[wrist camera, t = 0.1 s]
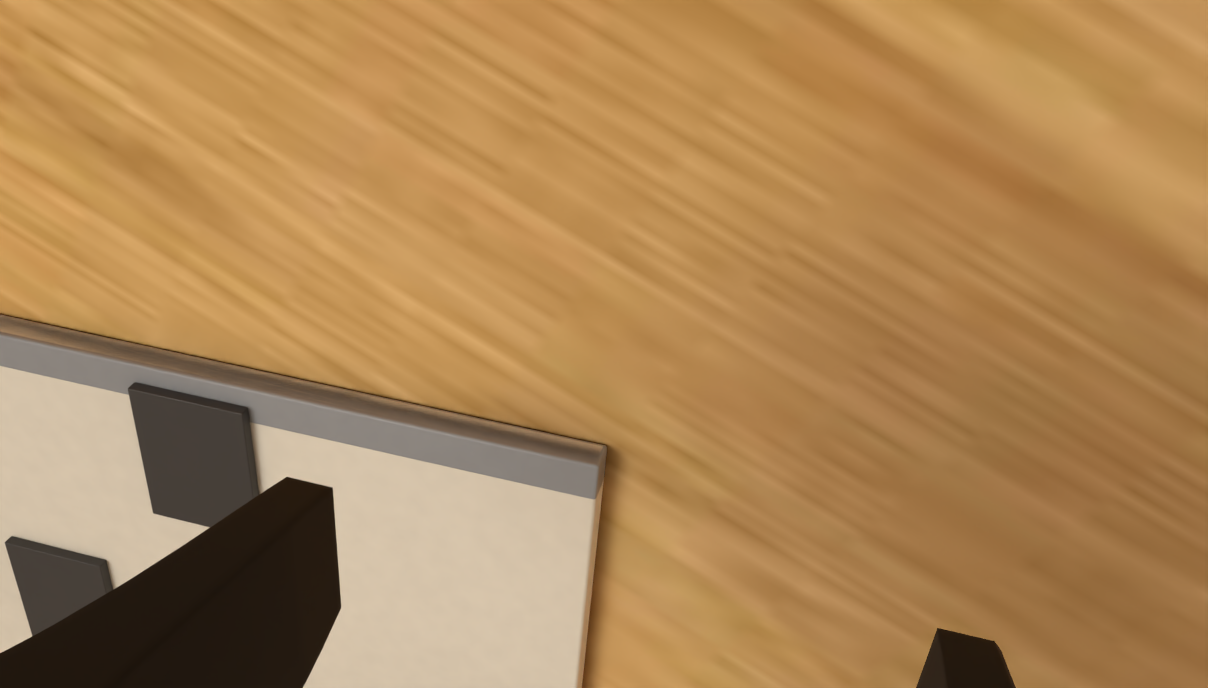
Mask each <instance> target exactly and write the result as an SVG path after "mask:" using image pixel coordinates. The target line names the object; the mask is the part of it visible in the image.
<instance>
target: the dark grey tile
mask: <svg viewBox="0 0 1208 688" xmlns="http://www.w3.org/2000/svg"><path fill="white" fill-rule="evenodd" d="M128 393H129V398H130V403H131V408H132V413H133V418H134V423H135V428H136V433H137V437H138V442H139V447H140V452H141V457H142V462H143V467H144V472H145V477H146V482H147V487H148V491H149V496H150V501H151V506H152V511H153V513H154V514H157V515H161V516H165V517H169V518H173V519H177V520H181V521H186V522H190V523H194V524H198V525H202V526H206V527H211V526H213V525H214V524H216V523H217V522H219V521H220V520H222V519H223V518H225V517H226V516H228V515H229V514H231V513H232V512H234V511H235V510H237V509H238V508H240V507H241V506H243V505H244V504H246V503H247V502H249V501H250V500H252V499H253V498H255V497H256V496H258V495H259V488H258V481H257V473H256V465H255V457H254V450H253V442H252V434H251V427H250V419H249V411H248V408H247V407H244V406H239V405H235V404H230V403H226V402H221V401H217V400H212V399H208V398H204V397H199V396H195V395H190V394H186V393H181V392H177V391H172V390H168V389H163V388H159V387H154V386H150V385H145V384H141V383H136V382H134V383H133V384H132V385H131V386H130V387H129V388H128Z"/></svg>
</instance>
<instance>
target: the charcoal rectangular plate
mask: <svg viewBox="0 0 1208 688" xmlns="http://www.w3.org/2000/svg"><path fill="white" fill-rule="evenodd" d="M5 546H6V549H7V552H8V556H9V559H10V563H11V566H12V569H13V573H14V576H15V579H16V583H17V586H18V589H19V593H20V596H21V599H22V603H23V606H24V610H25V613H26V616H27V620H28V623H29V626H30V630H31V633H32V636H34V635H36V634H38V633H39V632H41V631H43V630H45V629H47V628H49V627H50V626H52V625H54V624H56V623H57V622H59V621H61V620H62V619H64V618H66V617H68V616H69V615H71V614H73V613H74V612H76V611H78V610H79V609H81V608H83V607H85V606H86V605H88V604H90V603H91V602H93V601H95V600H96V599H98V598H100V597H101V596H103V595H105V594H107V593H108V592H110V591H112V590H113V587H112V582H111V578H110V574H109V569H108V565H107V561H106V560H105V559H101V558H97V557H93V556H89V555H85V554H81V553H77V552H73V551H69V550H65V549H61V548H57V547H53V546H49V545H46V544H42V543H38V542H34V541H30V540H26V539H22V538H18V537H14V536H11V537H10V538H9V539H8V540H7V541H5Z"/></svg>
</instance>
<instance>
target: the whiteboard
mask: <svg viewBox="0 0 1208 688" xmlns="http://www.w3.org/2000/svg"><path fill="white" fill-rule="evenodd" d="M134 382H136V383H141V384H145V385H150V386H154V387H159V388H163V389H168V390H172V391H177V392H181V393H186V394H190V395H195V396H199V397H204V398H208V399H212V400H217V401H221V402H226V403H230V404H235V405H239V406H244V407H247V408H248V411H249V419H250V427H251V434H252V442H253V450H254V457H255V465H256V473H257V481H258V488H259V494H261V493H262V492H264V491H265V490H267V489H268V488H270V487H272V486H273V485H275V484H276V483H278V482H279V481H281V480H282V479H284V478H286V477H290V478H294V479H299V480H303V481H307V482H312V483H316V484H320V485H325V486H329V487H333V498H334V512H335V526H336V540H337V554H338V568H339V581H340V595H341V610H340V612H339V614H338V616H337V618H336V620H335V623H334V625H333V627H332V629H331V631H330V634H329V636H328V638H327V640H326V642H325V644H324V647H323V649H322V651H321V653H320V655H319V657H318V659H317V661H316V663H315V665H314V667H313V669H312V671H311V673H310V675H309V677H308V679H307V681H306V683H305V685H304V686H303V688H582V682H583V672H584V663H585V653H586V644H587V634H588V625H589V615H590V606H591V596H592V587H593V577H594V568H595V558H596V549H597V539H598V530H599V520H600V511H601V501H602V492H603V482H604V475H605V465H606V456H607V446H605V445H601V444H596V443H592V442H587V441H582V440H578V439H573V438H568V437H564V436H559V435H555V434H550V433H545V432H541V431H536V430H532V429H527V428H522V427H518V426H513V425H508V424H504V423H499V422H495V421H490V420H485V419H481V418H476V417H472V416H467V415H462V414H458V413H453V412H448V411H444V410H439V409H435V408H430V407H425V406H421V405H416V404H411V403H407V402H402V401H398V400H393V399H388V398H384V397H379V396H375V395H370V394H365V393H361V392H356V391H351V390H347V389H342V388H338V387H333V386H328V385H324V384H319V383H315V382H310V381H305V380H301V379H296V378H291V377H287V376H282V375H278V374H273V373H268V372H264V371H259V370H255V369H250V368H245V367H241V366H236V365H231V364H227V363H222V362H218V361H213V360H208V359H204V358H199V357H194V356H190V355H185V354H181V353H176V352H171V351H167V350H162V349H158V348H153V347H148V346H144V345H139V344H134V343H130V342H125V341H121V340H116V339H111V338H107V337H102V336H98V335H93V334H88V333H84V332H79V331H74V330H70V329H65V328H61V327H56V326H51V325H47V324H42V323H38V322H33V321H28V320H24V319H19V318H14V317H10V316H5V315H1V314H0V653H1V652H3V651H5V650H7V649H9V648H11V647H13V646H15V645H17V644H19V643H21V642H23V641H24V640H26V639H28V638H30V637H32V633H31V630H30V626H29V623H28V620H27V616H26V613H25V610H24V606H23V603H22V599H21V596H20V593H19V589H18V586H17V583H16V579H15V576H14V573H13V569H12V566H11V563H10V559H9V556H8V552H7V549H6V546H5V541H7V540H8V539H9V538H10V537H11V536H14V537H18V538H22V539H26V540H30V541H34V542H38V543H42V544H46V545H49V546H53V547H57V548H61V549H65V550H69V551H73V552H77V553H81V554H85V555H89V556H93V557H97V558H101V559H105V560H106V561H107V565H108V569H109V574H110V578H111V582H112V587H113V589H115V588H117V587H118V586H120V585H122V584H123V583H125V582H127V581H128V580H130V579H131V578H133V577H135V576H136V575H138V574H139V573H141V572H142V571H144V570H145V569H147V568H149V567H150V566H152V565H153V564H155V563H156V562H158V561H159V560H161V559H163V558H164V557H166V556H167V555H169V554H170V553H172V552H173V551H175V550H177V549H178V548H180V547H181V546H183V545H184V544H186V543H187V542H189V541H190V540H192V539H193V538H195V537H196V536H198V535H199V534H201V533H202V532H204V531H205V530H207V529H208V528H210V527H206V526H202V525H198V524H194V523H190V522H186V521H181V520H177V519H173V518H169V517H165V516H161V515H157V514H154V513H153V511H152V506H151V501H150V496H149V491H148V487H147V482H146V477H145V472H144V467H143V462H142V457H141V452H140V447H139V442H138V437H137V433H136V428H135V423H134V418H133V413H132V408H131V403H130V398H129V393H128V388H129V387H130V386H131V385H132V384H133V383H134Z"/></svg>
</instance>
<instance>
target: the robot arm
mask: <svg viewBox="0 0 1208 688" xmlns="http://www.w3.org/2000/svg"><path fill="white" fill-rule="evenodd" d="M340 610H341V595H340V581H339V568H338V554H337V540H336V526H335V512H334V498H333V487H329V486H325V485H320V484H316V483H312V482H307V481H303V480H299V479H294V478H290V477H286V478H284V479H282V480H281V481H279V482H278V483H276V484H275V485H273V486H272V487H270V488H268V489H267V490H265V491H264V492H262V493H261V494H259V495H258V496H256V497H255V498H253V499H252V500H250V501H249V502H247V503H246V504H244V505H243V506H241V507H240V508H238V509H237V510H235V511H234V512H232V513H231V514H229V515H228V516H226V517H225V518H223V519H222V520H220V521H219V522H217V523H216V524H214V525H213V526H211V527H210V528H208V529H207V530H205V531H204V532H202V533H201V534H199V535H198V536H196V537H195V538H193V539H192V540H190V541H189V542H187V543H186V544H184V545H183V546H181V547H180V548H178V549H177V550H175V551H173V552H172V553H170V554H169V555H167V556H166V557H164V558H163V559H161V560H159V561H158V562H156V563H155V564H153V565H152V566H150V567H149V568H147V569H145V570H144V571H142V572H141V573H139V574H138V575H136V576H135V577H133V578H131V579H130V580H128V581H127V582H125V583H123V584H122V585H120V586H118V587H117V588H115V589H113V590H112V591H110V592H108V593H107V594H105V595H103V596H101V597H100V598H98V599H96V600H95V601H93V602H91V603H90V604H88V605H86V606H85V607H83V608H81V609H79V610H78V611H76V612H74V613H73V614H71V615H69V616H68V617H66V618H64V619H62V620H61V621H59V622H57V623H56V624H54V625H52V626H50V627H49V628H47V629H45V630H43V631H41V632H39V633H38V634H36V635H34V636H32V637H30V638H28V639H26V640H24V641H23V642H21V643H19V644H17V645H15V646H13V647H11V648H9V649H7V650H5V651H3V652H1V653H0V688H303V686H304V685H305V683H306V681H307V679H308V677H309V675H310V673H311V671H312V669H313V667H314V665H315V663H316V661H317V659H318V657H319V655H320V653H321V651H322V649H323V647H324V644H325V642H326V640H327V638H328V636H329V634H330V631H331V629H332V627H333V625H334V623H335V620H336V618H337V616H338V614H339V612H340ZM916 688H1016V687H1015V685H1014V682H1013V680H1012V677H1011V675H1010V672H1009V670H1008V667H1007V665H1006V662H1005V659H1004V657H1003V654H1002V651H1001V650H1000V649H999V647H998V646H997V644H996V643H995V641H991V640H987V639H982V638H978V637H974V636H969V635H965V634H961V633H957V632H952V631H948V630H944V629H939V628H937V631H936V634H935V637H934V640H933V642H932V645H931V648H930V651H929V654H928V656H927V659H926V662H925V665H924V668H923V670H922V673H921V676H920V679H919V682H918V684H917V687H916Z"/></svg>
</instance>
